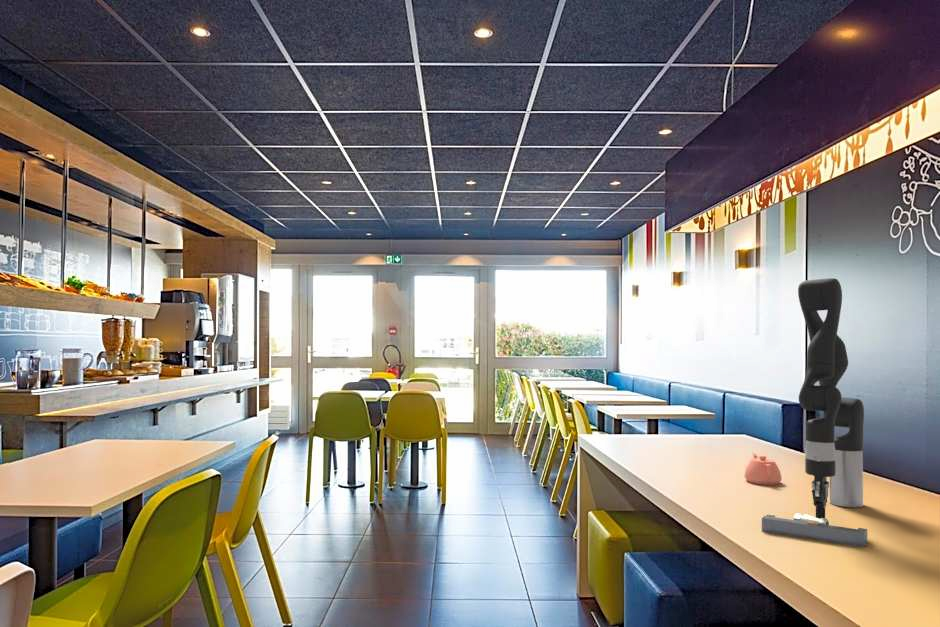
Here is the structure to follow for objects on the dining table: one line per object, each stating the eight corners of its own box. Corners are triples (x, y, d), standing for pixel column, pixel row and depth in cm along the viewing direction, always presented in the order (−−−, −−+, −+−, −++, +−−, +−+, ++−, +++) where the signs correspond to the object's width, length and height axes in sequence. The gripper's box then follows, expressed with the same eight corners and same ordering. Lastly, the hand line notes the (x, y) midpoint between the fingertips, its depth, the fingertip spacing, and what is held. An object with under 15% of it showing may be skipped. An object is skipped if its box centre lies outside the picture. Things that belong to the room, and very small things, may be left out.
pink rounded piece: (752, 486, 241) (752, 459, 241) (737, 476, 258) (737, 450, 259) (788, 487, 239) (788, 460, 240) (770, 477, 257) (770, 451, 258)
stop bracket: (767, 525, 190) (767, 511, 190) (867, 540, 176) (867, 525, 176) (761, 531, 184) (761, 516, 184) (865, 547, 170) (864, 531, 170)
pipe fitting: (800, 525, 192) (793, 528, 187) (801, 511, 192) (793, 514, 187) (832, 531, 187) (825, 534, 182) (832, 516, 187) (825, 519, 182)
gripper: (809, 453, 199) (809, 513, 198) (801, 459, 188) (801, 523, 187) (838, 455, 195) (838, 517, 194) (832, 462, 184) (832, 527, 183)
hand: (820, 520), depth 191 cm, fingers closed
